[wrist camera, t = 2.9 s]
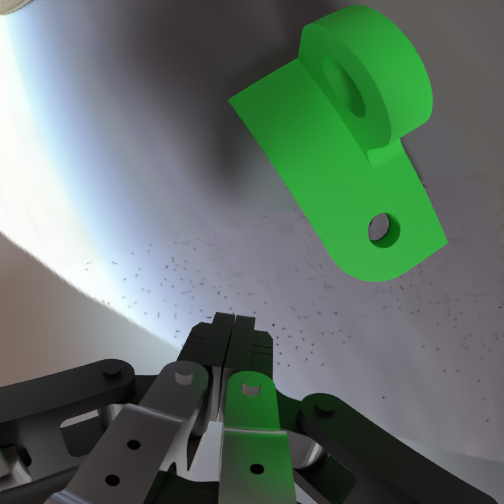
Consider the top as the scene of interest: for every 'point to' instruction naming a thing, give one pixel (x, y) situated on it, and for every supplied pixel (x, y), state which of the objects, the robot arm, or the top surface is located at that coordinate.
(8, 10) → the jug
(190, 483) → the robot arm
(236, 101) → the mechanical part
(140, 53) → the top surface
